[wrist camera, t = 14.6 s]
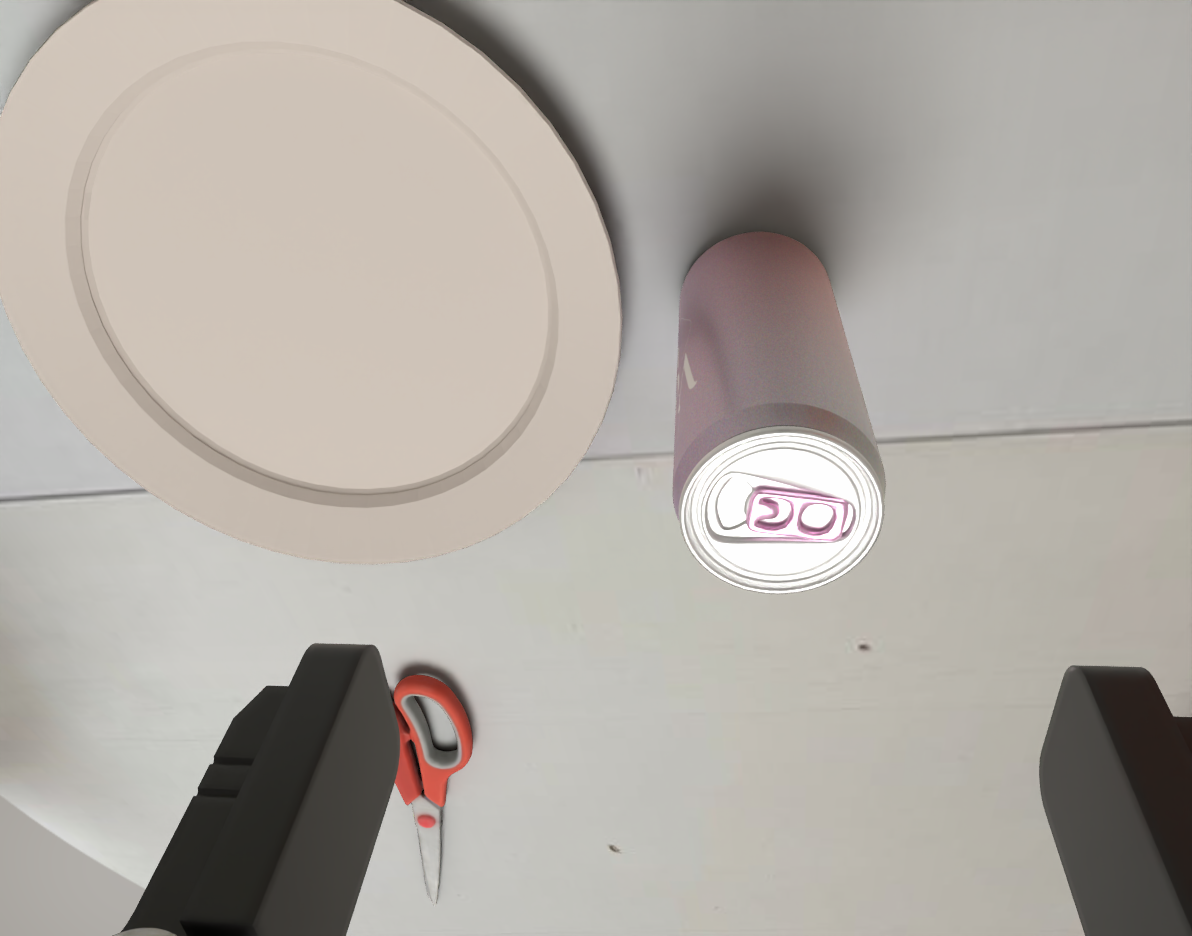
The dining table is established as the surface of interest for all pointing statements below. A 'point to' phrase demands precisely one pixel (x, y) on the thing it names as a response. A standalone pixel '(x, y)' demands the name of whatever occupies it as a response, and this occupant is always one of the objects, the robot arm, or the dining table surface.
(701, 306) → the beverage can
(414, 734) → the scissors
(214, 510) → the plate
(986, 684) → the dining table surface
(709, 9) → the dining table surface
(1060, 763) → the robot arm
